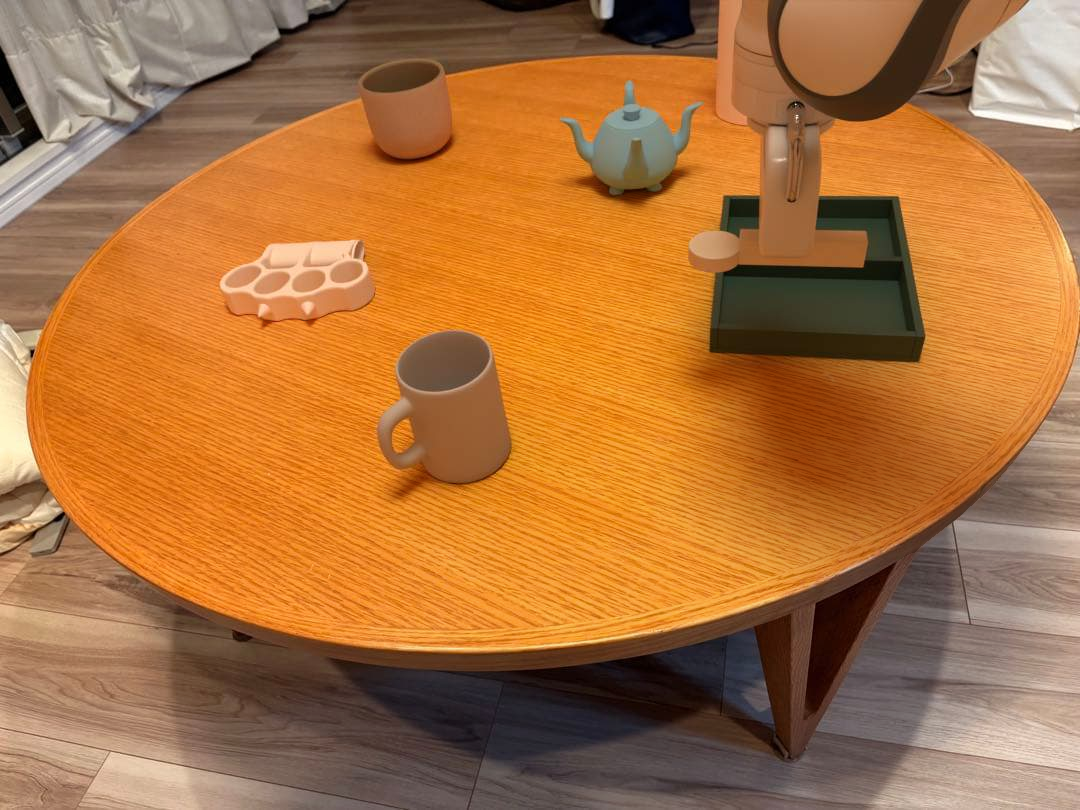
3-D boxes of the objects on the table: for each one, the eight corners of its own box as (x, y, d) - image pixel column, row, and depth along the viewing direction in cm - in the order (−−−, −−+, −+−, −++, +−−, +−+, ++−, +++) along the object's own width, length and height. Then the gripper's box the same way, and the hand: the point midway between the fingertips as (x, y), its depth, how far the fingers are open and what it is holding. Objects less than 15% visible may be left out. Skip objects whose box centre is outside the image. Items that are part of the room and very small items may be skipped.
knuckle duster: (391, 253, 103) (362, 326, 92) (256, 260, 105) (213, 331, 95) (384, 230, 100) (354, 301, 90) (246, 237, 103) (202, 308, 92)
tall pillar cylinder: (748, 88, 126) (759, -97, 109) (805, 106, 119) (827, -89, 102) (700, 113, 122) (704, -77, 105) (757, 132, 115) (772, -66, 98)
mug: (473, 405, 80) (452, 316, 73) (530, 447, 75) (514, 356, 68) (372, 473, 75) (339, 384, 68) (426, 523, 70) (397, 433, 63)
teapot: (703, 175, 108) (705, 100, 101) (635, 217, 102) (633, 141, 96) (631, 149, 116) (628, 78, 109) (564, 187, 110) (557, 114, 103)
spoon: (860, 246, 69) (865, 222, 68) (864, 277, 66) (869, 251, 64) (690, 243, 72) (690, 219, 71) (686, 272, 69) (686, 248, 68)
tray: (893, 219, 96) (898, 195, 94) (919, 362, 78) (925, 336, 76) (722, 217, 100) (723, 194, 98) (709, 352, 82) (710, 327, 80)
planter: (414, 123, 130) (398, 53, 123) (474, 136, 124) (461, 64, 117) (359, 157, 124) (339, 86, 116) (420, 173, 118) (402, 99, 110)
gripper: (852, 143, 51) (823, 320, 60) (833, 23, 65) (812, 181, 74) (747, 144, 52) (734, 317, 61) (751, 26, 66) (741, 181, 76)
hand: (777, 241), depth 68 cm, fingers closed on spoon, 2 cm apart
